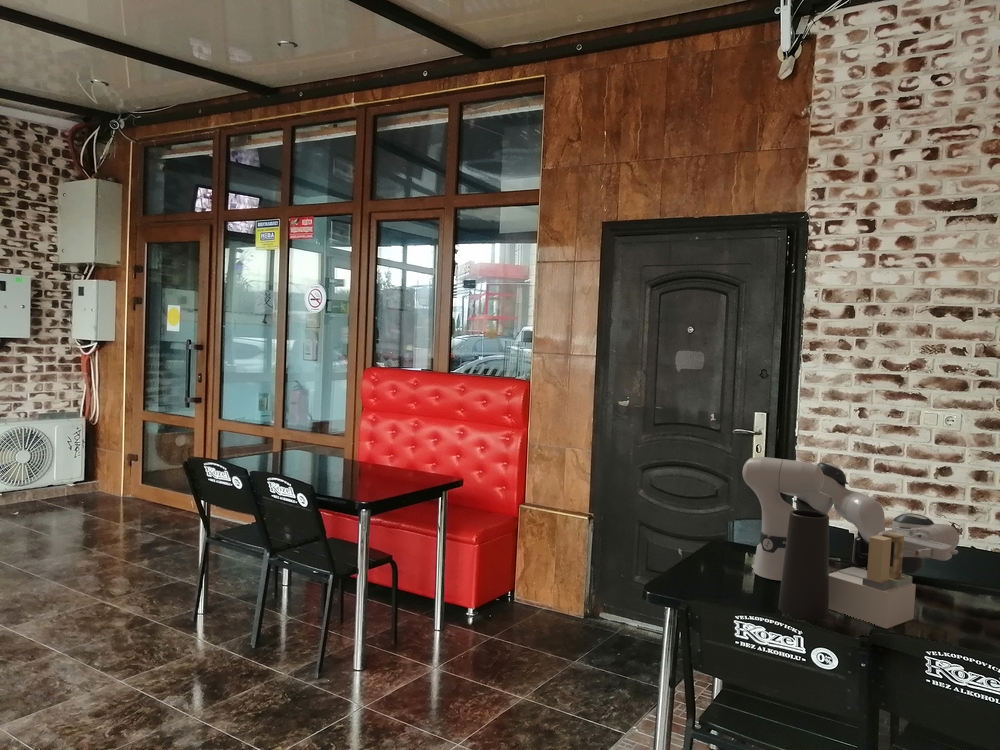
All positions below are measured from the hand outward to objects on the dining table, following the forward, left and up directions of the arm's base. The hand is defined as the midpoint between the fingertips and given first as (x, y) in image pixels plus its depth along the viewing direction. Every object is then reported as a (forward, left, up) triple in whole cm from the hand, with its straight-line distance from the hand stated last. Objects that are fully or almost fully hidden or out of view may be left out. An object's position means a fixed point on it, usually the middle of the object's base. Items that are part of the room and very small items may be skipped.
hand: (901, 549), depth 234 cm
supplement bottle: (-42, -34, -20) cm, 57 cm away
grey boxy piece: (+7, -5, -19) cm, 21 cm away
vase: (+23, -16, -20) cm, 34 cm away
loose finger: (+4, -1, -9) cm, 10 cm away
